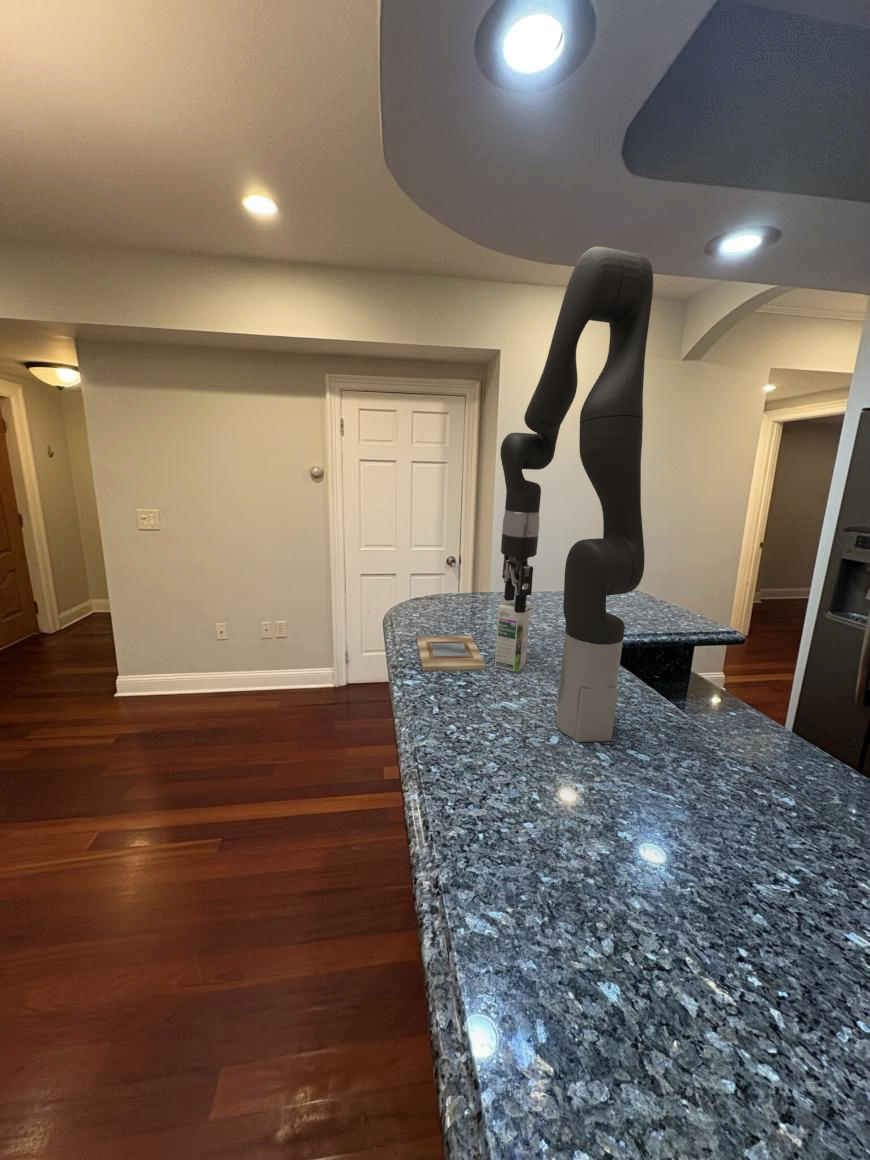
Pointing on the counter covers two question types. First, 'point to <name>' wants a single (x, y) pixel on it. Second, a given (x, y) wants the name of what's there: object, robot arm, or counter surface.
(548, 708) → the counter surface
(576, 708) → the robot arm
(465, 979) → the counter surface
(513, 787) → the counter surface
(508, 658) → the syrup box
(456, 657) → the wooden picture frame
